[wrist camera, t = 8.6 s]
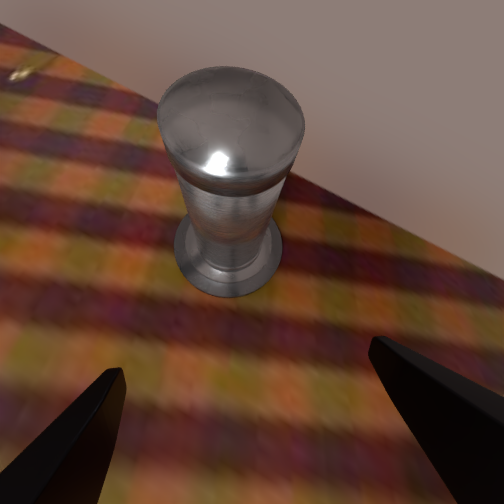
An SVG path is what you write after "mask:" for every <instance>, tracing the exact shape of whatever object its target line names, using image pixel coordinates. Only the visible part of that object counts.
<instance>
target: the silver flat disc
mask: <svg viewBox="0 0 504 504" xmlns="http://www.w3.org/2000/svg"><path fill="white" fill-rule="evenodd" d="M174 253H175V258H176V261H177V264H178V266H179V268H180V270H181V272H182V273H183V275H184V276H185V278H186V279H187V280H188V281H189V282H190V283H191V284H192V285H193V286H195V287H196V288H197V289H199V290H200V291H202V292H204V293H207V294H209V295H212V296H216V297H222V298H235V297H241V296H245V295H248V294H250V293H253V292H254V291H256V290H258V289H260V288H261V287H262V286H263V285H265V284H266V283H267V282H268V281H269V280H270V278H271V277H272V276H273V274H274V273H275V271H276V269H277V267H278V265H279V263H280V260H281V255H282V239H281V235H280V232H279V229H278V227H277V225H276V223H275V221H274V220H273V218H272V217H271V219H270V222H269V225H268V228H267V230H266V233H265V236H264V239H263V245H262V248H261V251H260V253H259V255H258V257H257V259H256V260H255V261H254V263H253V264H251V265H250V266H249V267H247V268H246V269H243V270H241V271H238V272H222V271H218V270H216V269H214V268H212V267H210V266H209V265H208V264H207V263H205V261H204V260H203V259H202V257H201V256H200V254H199V251H198V248H197V245H196V237H195V234H194V230H193V227H192V224H191V220H190V217H189V214H187V215H186V216H185V217H184V218H183V220H182V221H181V223H180V225H179V227H178V229H177V231H176V235H175V240H174Z"/></svg>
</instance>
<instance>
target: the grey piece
mask: <svg viewBox="0 0 504 504" xmlns="http://www.w3.org/2000/svg"><path fill="white" fill-rule="evenodd" d="M157 121H158V127H159V130H160V133H161V136H162V139H163V143H164V146H165V149H166V152H167V155H168V158H169V160H170V162H171V164H172V166H173V167H174V169H175V172H176V175H177V178H178V181H179V185H180V188H181V191H182V194H183V198H184V201H185V204H186V207H187V211H188V214H189V217H190V220H191V224H192V227H193V230H194V234H195V237H196V245H197V248H198V251H199V254H200V256H201V257H202V259H203V260H204V261H205V263H207V264H208V265H209V266H210V267H212V268H214V269H216V270H218V271H222V272H238V271H241V270H243V269H246V268H247V267H249V266H250V265H251V264H253V263H254V261H255V260H256V259H257V257H258V255H259V253H260V251H261V248H262V245H263V239H264V236H265V233H266V230H267V228H268V225H269V222H270V219H271V217H272V214H273V211H274V208H275V206H276V203H277V200H278V197H279V195H280V192H281V189H282V186H283V184H284V181H285V178H286V176H287V174H288V173H289V171H290V170H291V168H292V166H293V163H294V161H295V158H296V155H297V153H298V150H299V147H300V145H301V142H302V139H303V136H304V130H305V121H304V116H303V113H302V110H301V107H300V106H299V104H298V102H297V100H296V99H295V98H294V96H293V95H292V94H291V93H290V92H289V91H288V90H287V89H286V88H285V87H284V86H283V85H281V84H280V83H278V82H277V81H275V80H274V79H272V78H270V77H268V76H266V75H264V74H261V73H259V72H256V71H253V70H249V69H245V68H239V67H228V66H220V67H210V68H205V69H200V70H197V71H194V72H191V73H189V74H187V75H185V76H183V77H181V78H180V79H178V80H177V81H176V82H174V83H173V84H172V85H171V86H170V87H169V88H168V89H167V90H166V92H165V93H164V95H163V96H162V98H161V100H160V102H159V106H158V110H157Z"/></svg>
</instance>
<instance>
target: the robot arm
mask: <svg viewBox="0 0 504 504" xmlns="http://www.w3.org/2000/svg"><path fill="white" fill-rule="evenodd" d="M368 356H369V359H370V361H371V363H372V365H373V367H374V369H375V371H376V373H377V375H378V376H379V378H380V380H381V382H382V384H383V386H384V388H385V390H386V392H387V393H388V395H389V397H390V399H391V400H392V402H393V404H394V405H395V407H396V408H397V410H398V412H399V413H400V415H401V416H402V418H403V419H404V421H405V423H406V424H407V426H408V427H409V429H410V430H411V432H412V433H413V435H414V437H415V438H416V440H417V441H418V443H419V444H420V446H421V447H422V449H423V451H424V452H425V454H426V455H427V457H428V458H429V460H430V461H431V463H432V465H433V466H434V468H435V469H436V471H437V472H438V474H439V476H440V477H441V479H442V480H443V482H444V483H445V485H446V486H447V488H448V490H449V491H450V493H451V494H452V496H453V497H454V499H455V500H456V502H457V504H504V397H502V396H500V395H498V394H497V393H495V392H493V391H491V390H489V389H487V388H485V387H483V386H481V385H479V384H477V383H475V382H473V381H471V380H469V379H467V378H465V377H463V376H462V375H460V374H458V373H456V372H454V371H452V370H450V369H448V368H446V367H444V366H442V365H440V364H438V363H436V362H434V361H432V360H430V359H428V358H426V357H425V356H423V355H421V354H419V353H417V352H415V351H413V350H411V349H409V348H407V347H405V346H403V345H401V344H399V343H397V342H395V341H393V340H391V339H389V338H388V337H386V336H375V337H373V338H372V341H371V344H370V348H369V351H368ZM125 396H126V382H125V378H124V373H123V370H122V368H120V367H118V368H110V369H107V370H105V371H104V372H103V373H102V374H101V375H100V376H99V377H98V378H97V379H96V380H95V381H94V382H93V383H92V384H91V385H90V386H89V387H88V388H87V389H86V390H85V391H84V392H83V393H82V394H81V395H80V396H79V397H78V398H77V399H76V400H75V401H74V402H72V403H71V404H70V405H69V406H68V407H67V408H66V409H65V410H64V411H63V412H62V413H61V414H60V415H59V416H58V417H57V418H56V419H55V420H54V421H53V422H52V423H51V424H50V425H49V426H48V427H47V428H46V429H45V430H44V431H43V432H42V433H41V434H40V435H39V436H38V437H37V438H36V439H35V440H34V441H33V442H32V443H31V444H30V445H29V446H27V447H26V448H25V449H24V450H23V451H22V452H21V453H20V454H19V455H18V456H17V457H16V458H15V459H14V460H13V461H12V462H11V463H10V464H9V465H8V466H7V467H6V468H5V469H4V470H3V471H2V472H1V473H0V504H97V503H98V500H99V497H100V493H101V490H102V487H103V484H104V481H105V477H106V474H107V471H108V468H109V465H110V461H111V458H112V455H113V451H114V448H115V443H116V439H117V434H118V429H119V424H120V420H121V415H122V410H123V405H124V401H125Z"/></svg>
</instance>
